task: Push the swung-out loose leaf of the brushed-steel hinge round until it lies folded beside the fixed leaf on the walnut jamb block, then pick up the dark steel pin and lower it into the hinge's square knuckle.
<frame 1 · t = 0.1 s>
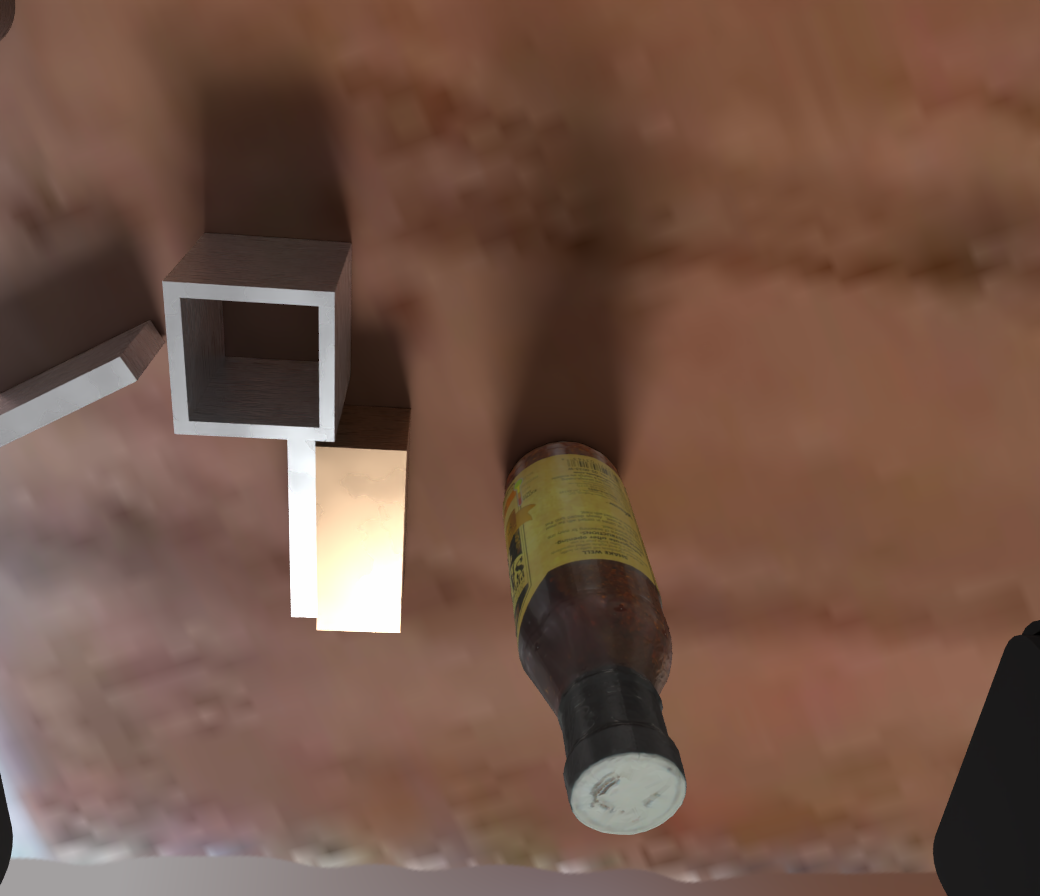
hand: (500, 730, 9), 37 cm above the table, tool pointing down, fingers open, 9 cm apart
sauce bottle: (563, 490, 51), on the table
leaf loose: (62, 388, 44), point 2 cm above the table, hinge at -60.0°
hinge base: (280, 306, 45), on the table
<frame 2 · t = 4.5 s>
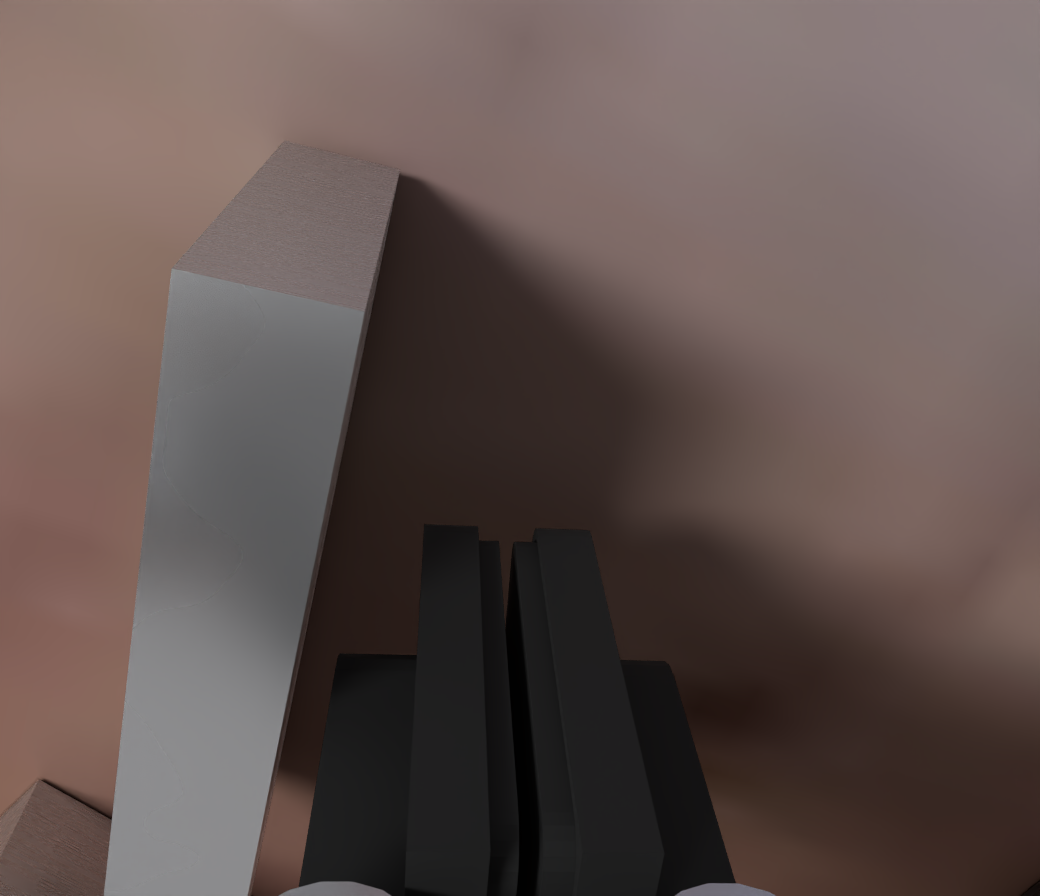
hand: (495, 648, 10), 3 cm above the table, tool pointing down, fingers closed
leaf loose: (246, 614, 10), point 2 cm above the table, hinge at -59.8°, touching gripper
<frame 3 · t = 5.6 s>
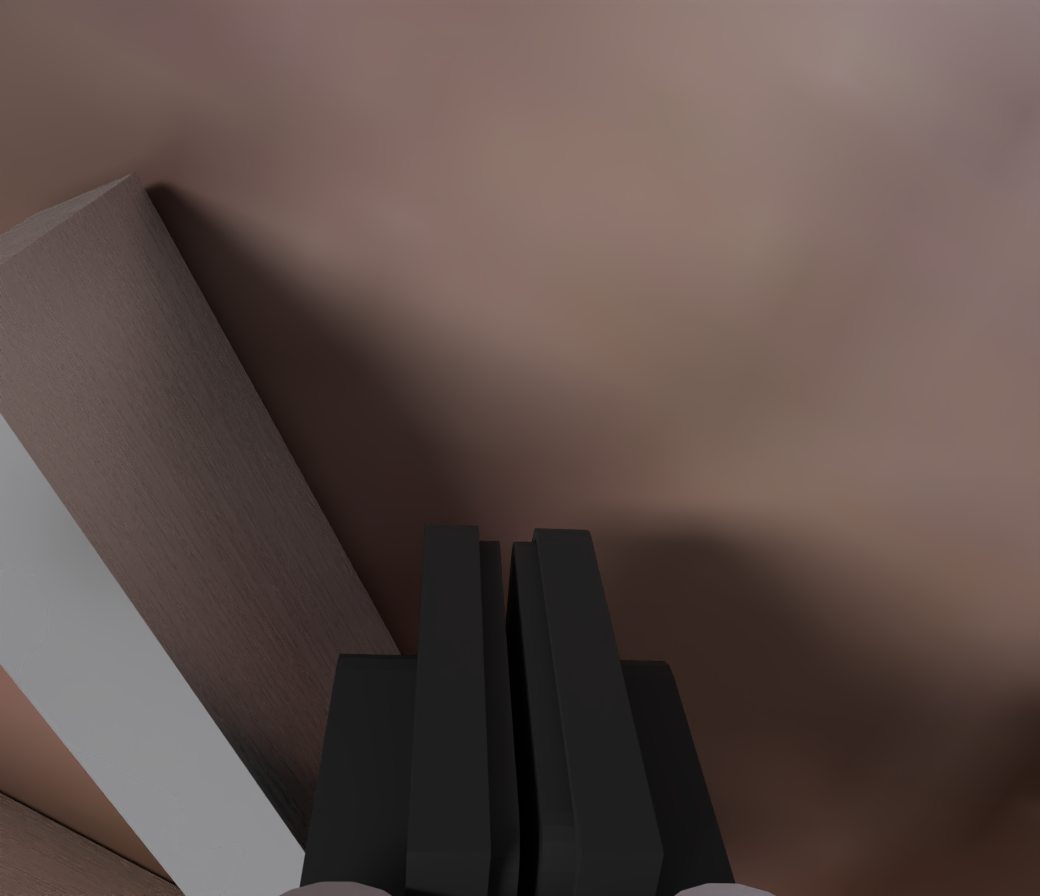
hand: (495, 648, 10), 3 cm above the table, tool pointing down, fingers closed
leaf loose: (234, 624, 10), point 2 cm above the table, hinge at -25.4°, touching gripper
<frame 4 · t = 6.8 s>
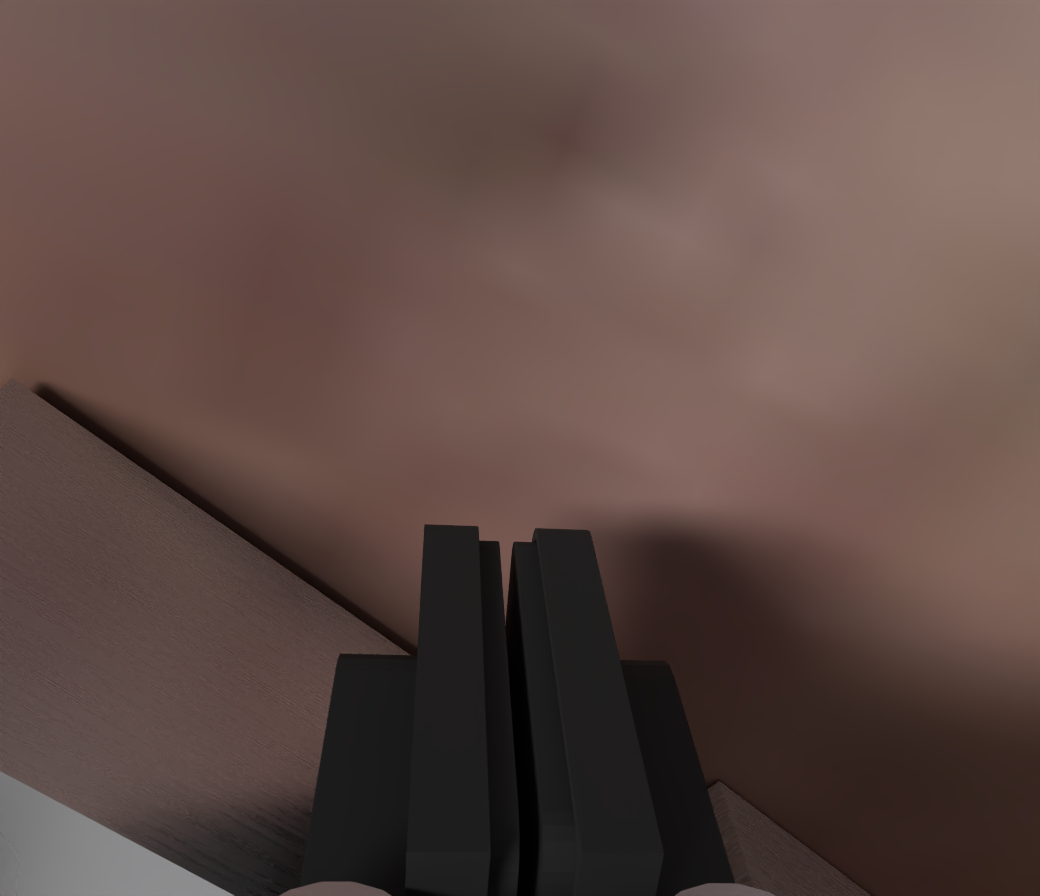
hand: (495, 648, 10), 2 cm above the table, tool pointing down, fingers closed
leaf loose: (258, 751, 10), point 2 cm above the table, hinge at 0.2°, touching gripper
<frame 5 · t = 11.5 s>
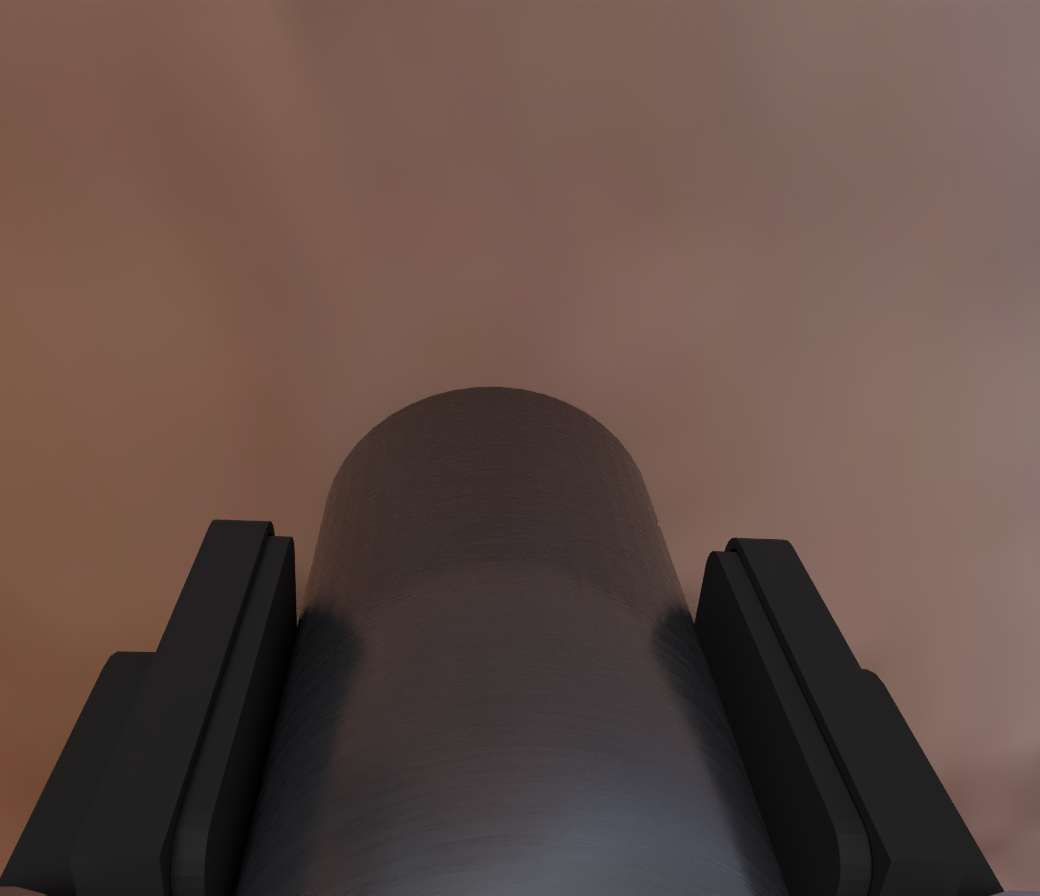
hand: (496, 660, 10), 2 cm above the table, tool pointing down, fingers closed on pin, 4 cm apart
pin: (489, 537, 12), on the table, touching gripper
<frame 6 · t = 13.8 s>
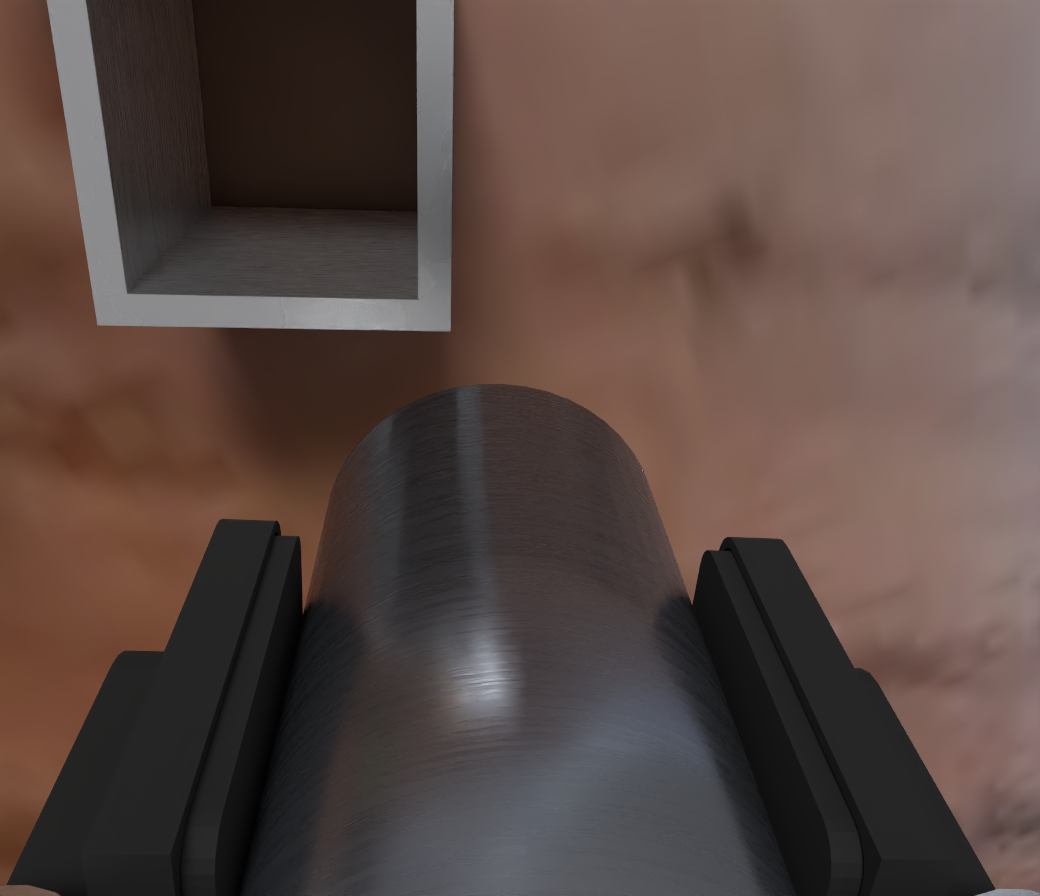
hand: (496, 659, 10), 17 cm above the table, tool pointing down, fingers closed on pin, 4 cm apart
pin: (491, 535, 12), point 14 cm above the table, touching gripper
hinge base: (314, 97, 23), on the table
when the fingers open (8 cm above the table, at t = 16.1 s): pin drops 5 cm, resting in hinge base.
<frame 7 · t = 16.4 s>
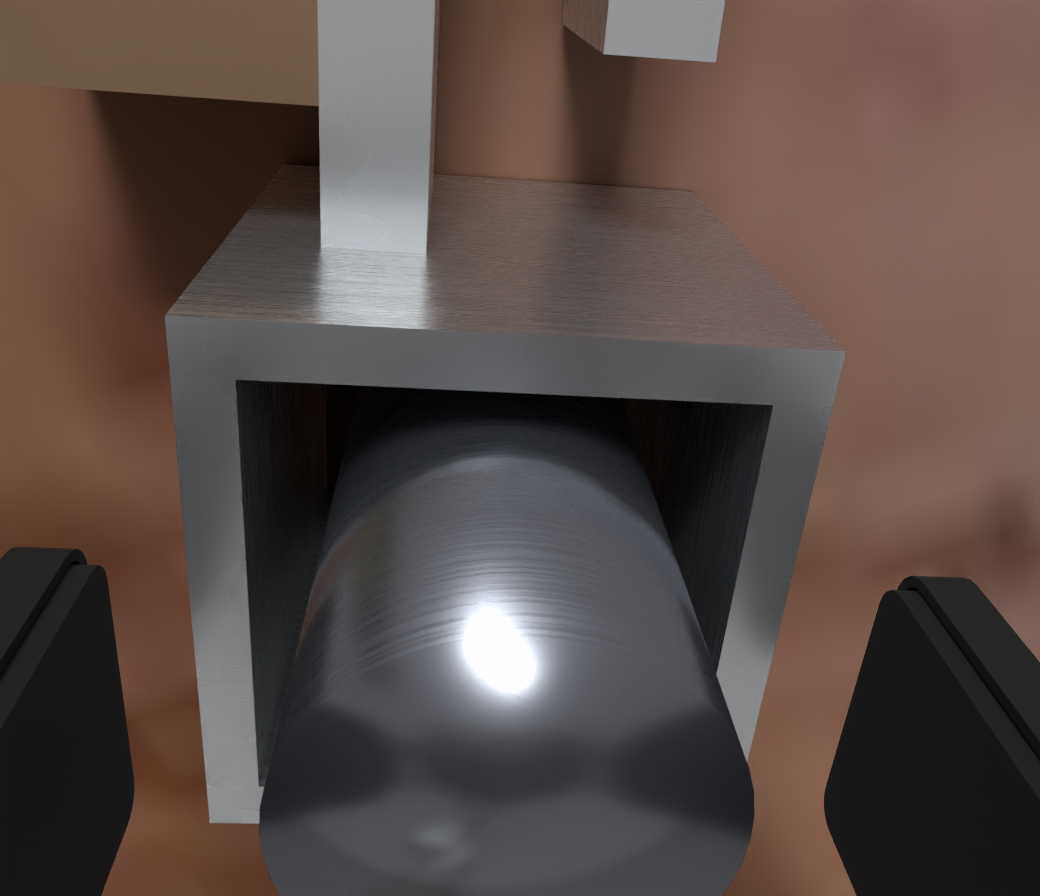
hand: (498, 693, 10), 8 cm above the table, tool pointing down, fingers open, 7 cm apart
pin: (485, 367, 17), resting in hinge base
hinge base: (479, 367, 17), on the table
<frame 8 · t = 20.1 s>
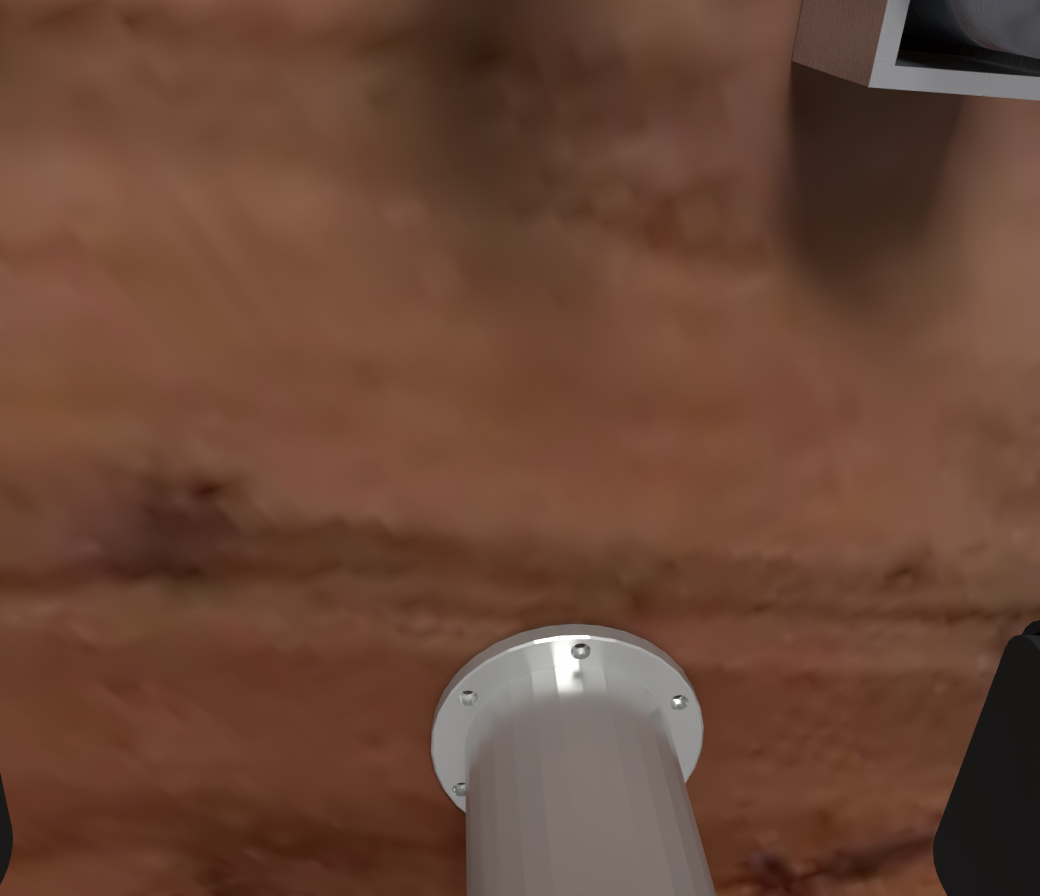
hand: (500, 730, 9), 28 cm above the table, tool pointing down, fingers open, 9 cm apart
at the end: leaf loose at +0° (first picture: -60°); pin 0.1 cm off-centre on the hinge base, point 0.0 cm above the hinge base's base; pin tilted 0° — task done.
